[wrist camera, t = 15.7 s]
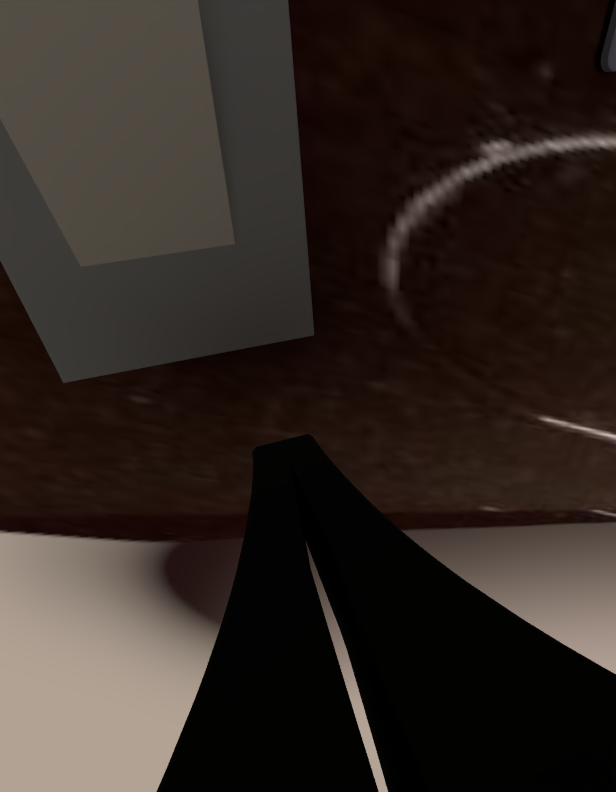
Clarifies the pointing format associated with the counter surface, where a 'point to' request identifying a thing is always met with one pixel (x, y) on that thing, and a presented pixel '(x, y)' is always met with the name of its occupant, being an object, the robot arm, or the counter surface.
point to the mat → (191, 270)
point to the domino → (116, 123)
